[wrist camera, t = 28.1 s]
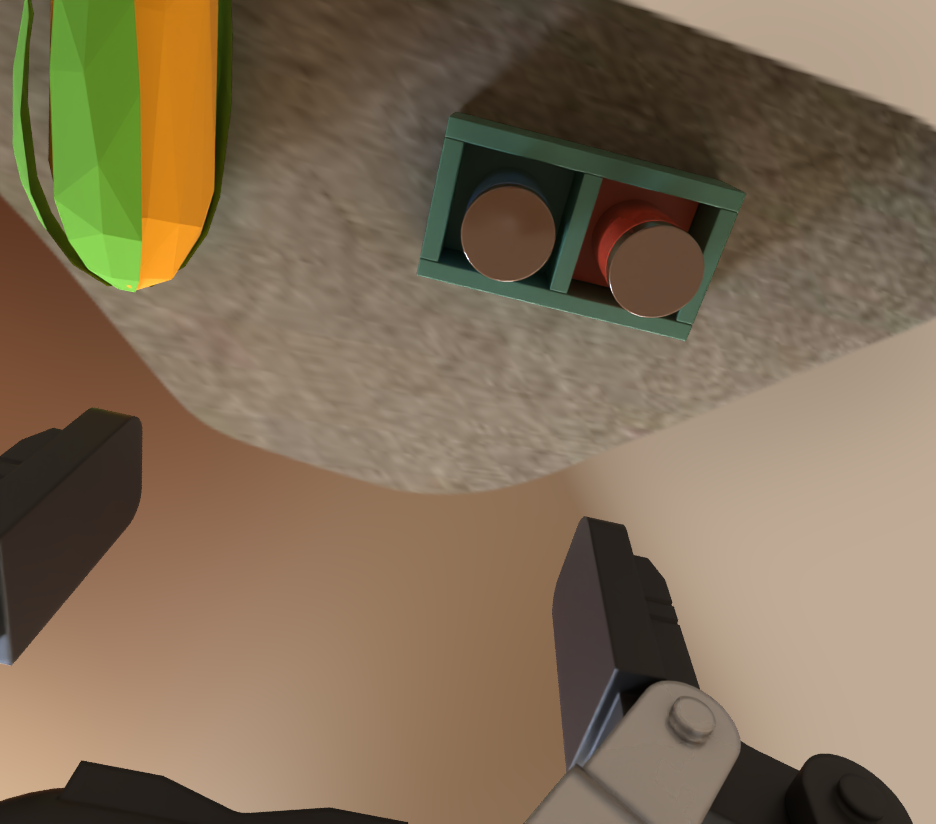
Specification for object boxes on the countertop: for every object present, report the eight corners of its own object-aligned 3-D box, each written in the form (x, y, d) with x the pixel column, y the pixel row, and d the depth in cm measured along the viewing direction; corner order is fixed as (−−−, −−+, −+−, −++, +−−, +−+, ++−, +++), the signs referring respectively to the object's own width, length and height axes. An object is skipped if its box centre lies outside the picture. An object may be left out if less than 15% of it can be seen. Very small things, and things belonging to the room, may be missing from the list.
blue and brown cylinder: (478, 157, 30) (473, 175, 25) (556, 177, 30) (567, 199, 25) (460, 236, 32) (451, 269, 26) (534, 255, 32) (540, 292, 27)
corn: (-20, 293, 27) (-80, -427, 18) (76, 246, 33) (66, -293, 24) (174, 334, 28) (209, -330, 19) (229, 280, 34) (274, -226, 25)
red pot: (606, 189, 30) (627, 214, 25) (682, 210, 31) (720, 239, 25) (581, 267, 32) (596, 306, 27) (653, 285, 32) (683, 328, 27)
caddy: (455, 110, 30) (449, 115, 27) (721, 180, 31) (747, 193, 28) (424, 255, 33) (416, 275, 30) (669, 315, 34) (686, 341, 30)
